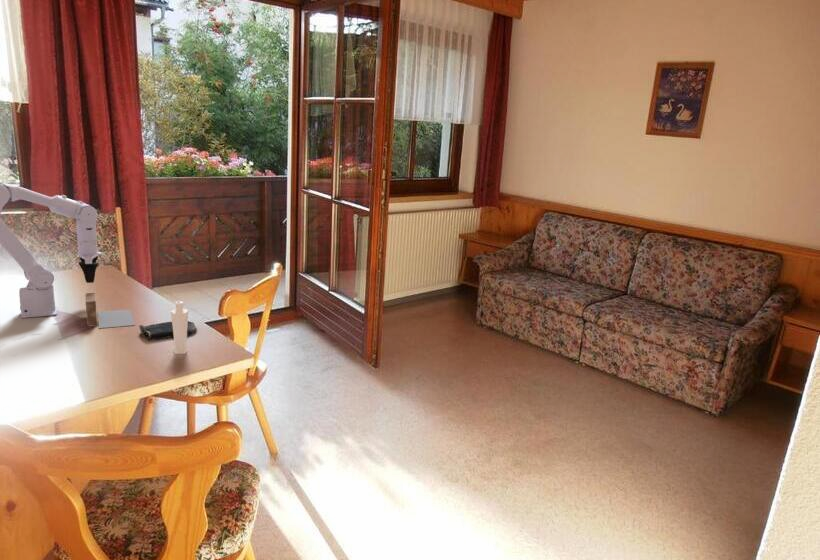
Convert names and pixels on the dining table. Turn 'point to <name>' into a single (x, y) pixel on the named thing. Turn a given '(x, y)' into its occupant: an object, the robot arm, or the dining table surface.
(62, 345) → the dining table surface
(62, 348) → the dining table surface
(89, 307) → the walnut slab
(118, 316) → the mat
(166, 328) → the electronic device
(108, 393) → the dining table surface
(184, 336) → the perfume bottle
